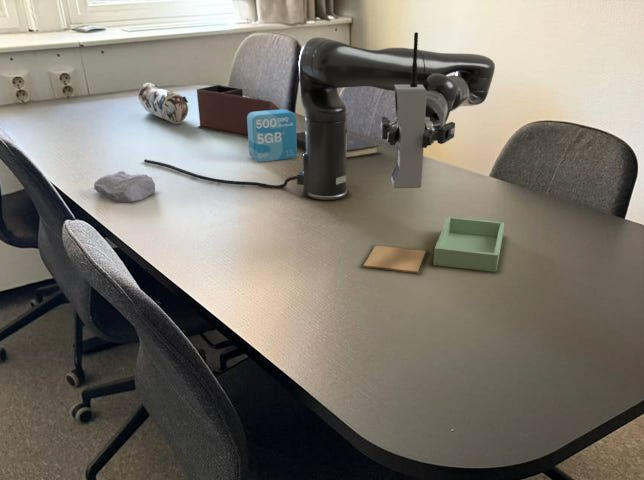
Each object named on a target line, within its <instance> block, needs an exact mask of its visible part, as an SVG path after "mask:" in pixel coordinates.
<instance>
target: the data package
mask: <svg viewBox="0 0 644 480" xmlns="http://www.w3.org/2000/svg"><path fill="white" fill-rule="evenodd" d="M247 125H248V137H247V139H248V153H249V156H250V157H251V158H252V159H254V160H255V161H257V162H258V163H264V162H265V163H266V162H273V161H282V160H292V159H294V158H296V156H297V154H298V146H297V136H296V133H297V116H296V114H295V113H294V112H292V111H290V110H289V109H286V108H280V110H267V111H255V112H250V113H249V114H248V116H247Z"/></svg>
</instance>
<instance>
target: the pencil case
mask: <svg viewBox="0 0 644 480" xmlns="http://www.w3.org/2000/svg"><path fill="white" fill-rule="evenodd" d="M137 96H138V101H139V103H140V105H141V107H143V109H144V111H146V112H148V113H150V114H152V115H154V116H156V117H159V118H160V119H162V120H165V121H168V122H170V123H172V124H174V125H175V124H176V125H177V124H178V125H179V124H181V123H183V122H184V121H185V119H186V118H187V116H188V113H189V105H188V103H189V101H188V99H187V98H186V96H182V95H180V94H179V93H176V92H174V90H170V91H168V90H167V89H162V88H160V87H159V86H158V85H157V84H154V83H151V82H146V83H143V84H142V87H141V88H140V89H139V91H138V95H137Z"/></svg>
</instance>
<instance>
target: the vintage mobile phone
mask: <svg viewBox="0 0 644 480" xmlns="http://www.w3.org/2000/svg"><path fill="white" fill-rule="evenodd" d="M413 34H414V35H413V49H414V53H413V64H412V81H411V85H394V90H395V91H394V107H395V108H394V109H395V115H396V119H398V120H399V124H398V128H399V129H398V141H397V151H396V153H397V155H396V156H397V157H396V160H397V161H396V166H395V168H394V170H393V172H392V173H391V178H390V179H391V180H390V181H391V184H392V186H393V188H394V189H420V188H421V187H422V181H423V180H422V179H423V167H424V166H423V163H424V162H423V161H424V148H422V139H423V134H424V130H425V112H426V94H427V91H426V89H425V88H424V87H423V85H417V50H418V45H419V44H418V42H419V33H418V32H417V31H416V32H414V33H413Z"/></svg>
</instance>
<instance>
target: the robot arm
mask: <svg viewBox="0 0 644 480" xmlns="http://www.w3.org/2000/svg"><path fill="white" fill-rule="evenodd" d="M413 53H414V48H407V47H386V48H381V49H367V48H364V47H358V46H355V45H351V44H347V43H345V42H343V41H342V42H341V41H338V40H335V39H331V38H326V37H318V36H315V37H312V38H310V39H309V40H307V41H306V42H305V43H304V44H303V46H302V48H301V50H300V54H299V58H298V59H299V60H298V71H299V72H298V76H299V92H300V93H299V94H300V102H301V105H302V108H303V110H304V126H305V127H304V130H305V131H304V132H305V137H306V150H305V152H304V153H303V155H302V169H301V170H300V172H298V173H297V174H296V175H294V176H290V177H288V178H286V179H285V180H284V182H283V183H282V184H275V185H274V184H267V183H264V182H263V183H262V182H257V181H239V180H229V179H220V178H214V177H209V176H205V175H200V174H197V173H195V172H191V171H188V170H185V169H182V168H180V167H177V166H174V165H171V164H168V163H164V162H161V161H156V160H152V159H151V160H150V159H146V158H145V159H143V162H144V163H146V164H151V165H155V166H160V167H165V168H168V169H171V170H174V171H176V172H179V173H181V174H185V175H187V176H191V177H193V178H196V179H200V180H204V181H208V182H212V183H213V182H214V183H218V184H227V185H237V186H256V187H262V188H268V189H269V188H270V189H283V188H286V187H287V185H288V183H289V182H292V181H294V180H295V181H296V185H297V186H303V197H308V198H310V199H314V200H319V201H335V200H339V199H340V200H341V199H343V198H345V197H346V196H347V193H348V192H347V191H348V189H347V188H348V187H347V165H348V164H347V162H348V161H347V160H348V159H347V133H348V108H347V105H346V103H345V102H344V101H343V100H342V98H341V96H340V94H339V91H338V89H342V88H355V87H358V88H359V87H372V88H377V89H379V90H386V91H391V92H395V90H394V85H411V81H412V64H413ZM495 69H496V64H495V62H494V60H493V59H491V58H490V57H488V56H485V55H481V54H476V53H456V52H455V53H451V52H449V53H447V52H437V51H429V50H423V49H417V85H423V87H424V88H425V89H426V91H427V94H426V112H425V130H424V134H423V139H422V148H423V149H427V148H428V146H432V144H434V143H435V142H437V144H439V145H443V144H445V143H447V142H449V141H450V140H452V139H454V138H455V131H456V130H455V129H456V123H455V122H454V121H450V122H447V121H448V120H449V117H450V113H451V112H453V111H455V110H456V109H458V108H460V107H472V106H473V107H474V106H478V105H481V104H483V103H484V102H485V101H486V99H487V96H488V95H489V91H490V89H491V84H492V81H493V78H494V74H495V71H496V70H495ZM450 74H451V75H450ZM452 74H453V75H452ZM398 124H399V120H398V118H396V119H395V121H391V119H390V118H388V117H386V116H383V117H381V118H380V137H381V138H380V139H382V140H387V143H389V145H390V146H395V145H397V144H398V129H399V128H398Z"/></svg>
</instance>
